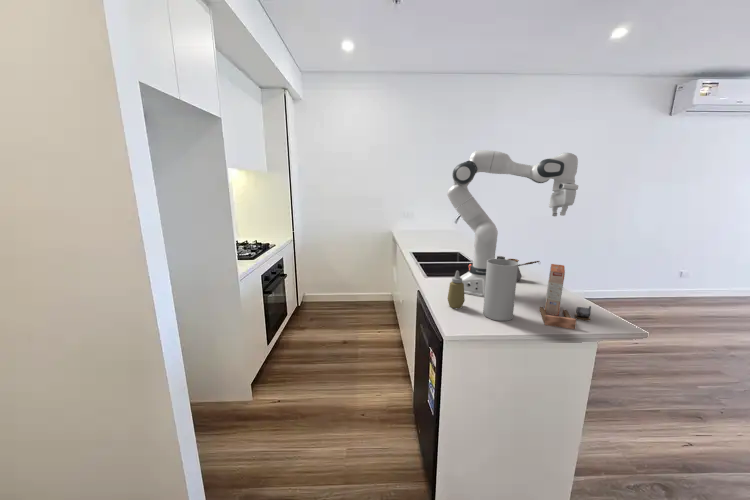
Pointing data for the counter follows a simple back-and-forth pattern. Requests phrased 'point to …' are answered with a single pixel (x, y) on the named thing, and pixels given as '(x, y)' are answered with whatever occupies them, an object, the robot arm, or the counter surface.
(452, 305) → the squeeze bottle
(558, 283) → the cracker box
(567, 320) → the bay
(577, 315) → the winch drum
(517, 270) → the coffee pot
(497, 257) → the supplement bottle
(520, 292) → the counter surface
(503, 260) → the cylinder vase
